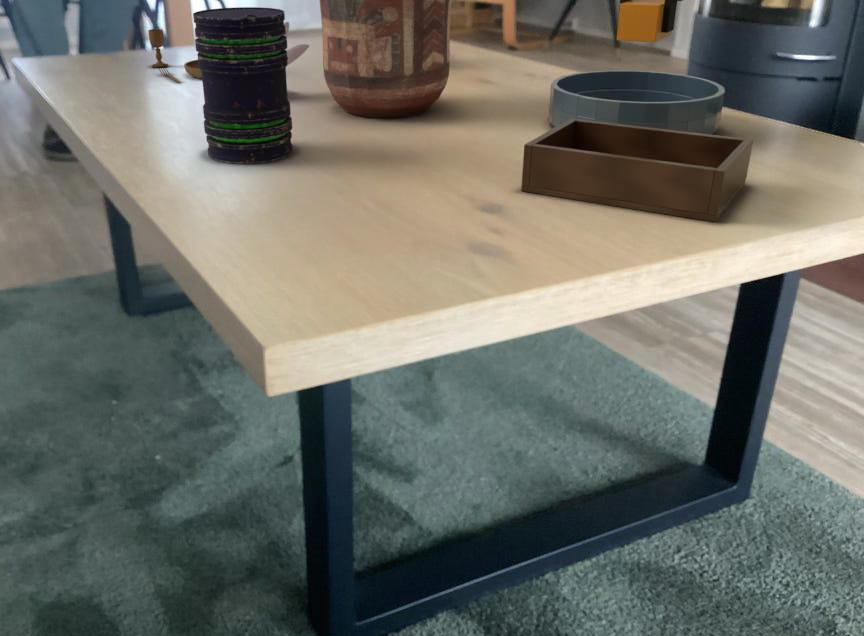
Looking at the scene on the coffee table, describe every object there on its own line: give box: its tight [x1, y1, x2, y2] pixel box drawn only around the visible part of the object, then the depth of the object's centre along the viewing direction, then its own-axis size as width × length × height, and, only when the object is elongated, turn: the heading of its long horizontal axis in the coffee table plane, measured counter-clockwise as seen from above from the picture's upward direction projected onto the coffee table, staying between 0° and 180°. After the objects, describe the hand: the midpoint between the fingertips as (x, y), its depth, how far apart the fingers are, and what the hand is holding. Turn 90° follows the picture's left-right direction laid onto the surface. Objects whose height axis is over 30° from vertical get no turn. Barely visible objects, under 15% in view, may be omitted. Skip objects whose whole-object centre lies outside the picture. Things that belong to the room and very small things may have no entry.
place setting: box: [148, 28, 202, 83], centre depth 144 cm, size 18×20×6 cm
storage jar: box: [192, 6, 294, 165], centre depth 95 cm, size 10×10×15 cm
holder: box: [520, 118, 754, 223], centre depth 84 cm, size 19×13×5 cm
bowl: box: [547, 69, 726, 135], centre depth 107 cm, size 20×20×5 cm
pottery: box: [319, 0, 453, 119], centre depth 114 cm, size 18×18×18 cm
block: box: [616, 0, 673, 44], centre depth 102 cm, size 4×7×4 cm, turn 149°
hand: (645, 29), depth 102 cm, fingers closed on block, 4 cm apart
